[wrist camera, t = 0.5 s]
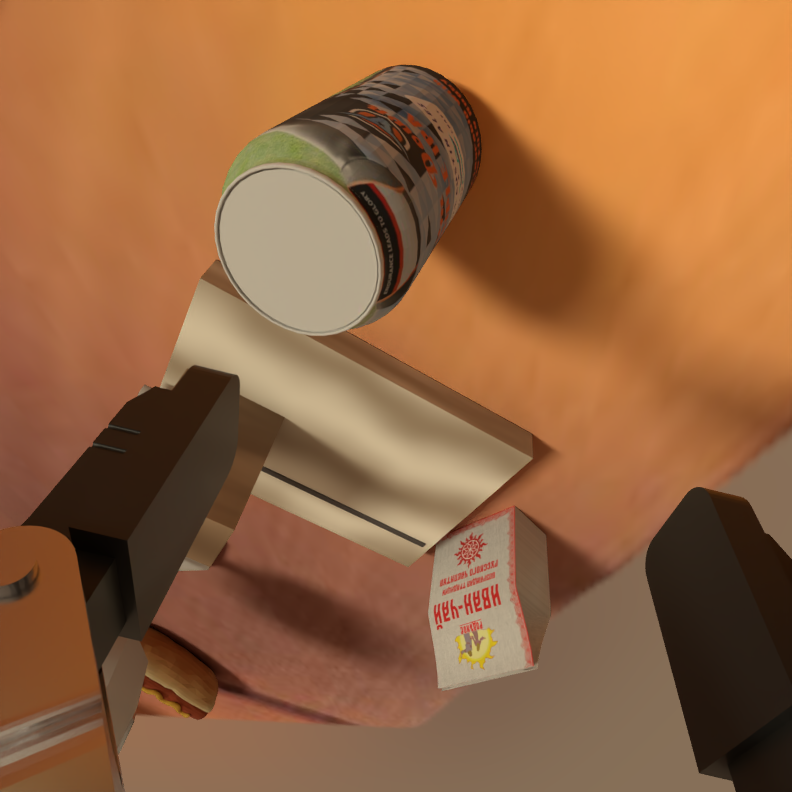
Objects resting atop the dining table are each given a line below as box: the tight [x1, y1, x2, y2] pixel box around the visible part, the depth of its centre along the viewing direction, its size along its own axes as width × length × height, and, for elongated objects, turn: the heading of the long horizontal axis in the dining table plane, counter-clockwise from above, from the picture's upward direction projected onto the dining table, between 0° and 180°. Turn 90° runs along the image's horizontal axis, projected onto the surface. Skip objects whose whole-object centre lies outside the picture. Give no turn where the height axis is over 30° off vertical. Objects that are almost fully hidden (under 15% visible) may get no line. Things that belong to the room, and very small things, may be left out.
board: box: [160, 260, 533, 567], centre depth 35 cm, size 14×20×2 cm
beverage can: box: [214, 65, 481, 336], centre depth 20 cm, size 6×7×12 cm
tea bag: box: [428, 506, 551, 691], centre depth 36 cm, size 4×7×10 cm, turn 132°
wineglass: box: [102, 557, 211, 755], centre depth 38 cm, size 9×9×21 cm
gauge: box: [138, 368, 285, 567], centre depth 30 cm, size 4×8×8 cm, turn 60°
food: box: [140, 627, 218, 720], centre depth 58 cm, size 14×6×5 cm, turn 32°
